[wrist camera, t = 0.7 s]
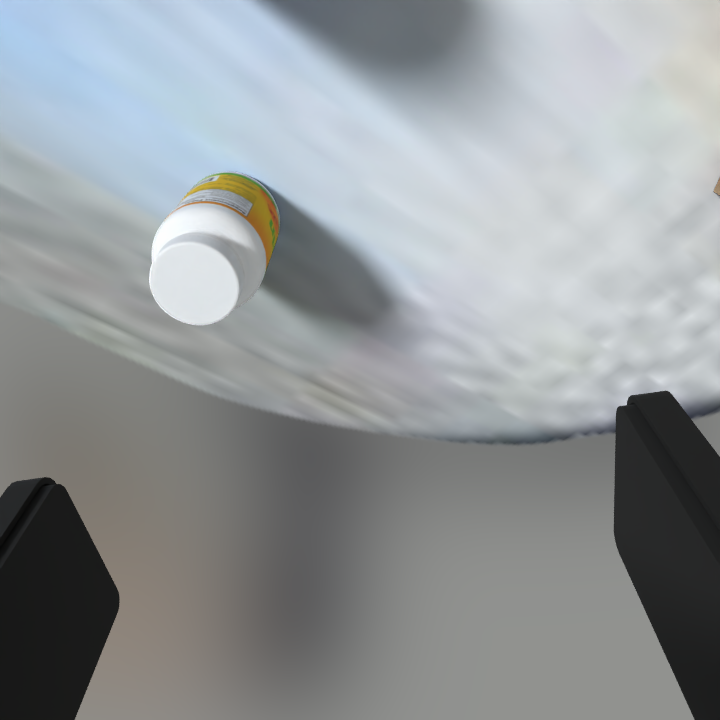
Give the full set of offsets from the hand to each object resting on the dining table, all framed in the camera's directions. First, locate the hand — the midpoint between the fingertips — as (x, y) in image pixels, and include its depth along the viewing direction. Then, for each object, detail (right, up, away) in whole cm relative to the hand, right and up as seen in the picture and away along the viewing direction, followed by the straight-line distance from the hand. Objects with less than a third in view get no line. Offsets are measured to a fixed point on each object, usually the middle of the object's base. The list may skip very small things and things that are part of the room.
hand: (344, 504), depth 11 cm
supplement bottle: (-7, +11, +26) cm, 29 cm away
